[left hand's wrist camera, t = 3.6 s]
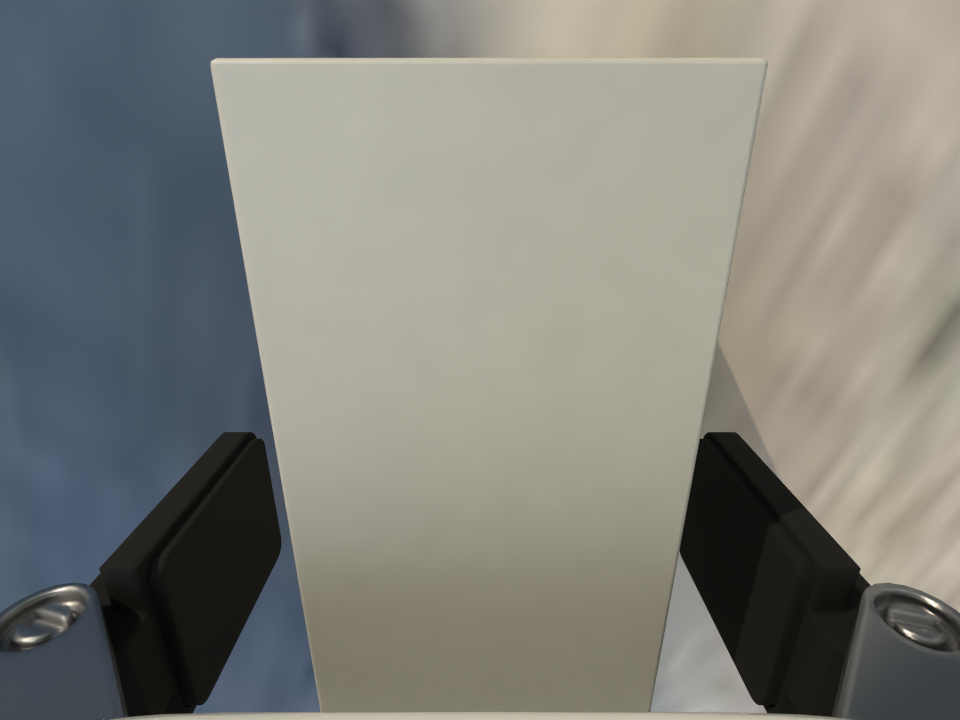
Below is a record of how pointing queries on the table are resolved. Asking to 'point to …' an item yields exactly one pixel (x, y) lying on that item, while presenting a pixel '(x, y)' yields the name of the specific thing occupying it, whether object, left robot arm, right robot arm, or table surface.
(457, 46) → the table surface
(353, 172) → the post
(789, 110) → the table surface
